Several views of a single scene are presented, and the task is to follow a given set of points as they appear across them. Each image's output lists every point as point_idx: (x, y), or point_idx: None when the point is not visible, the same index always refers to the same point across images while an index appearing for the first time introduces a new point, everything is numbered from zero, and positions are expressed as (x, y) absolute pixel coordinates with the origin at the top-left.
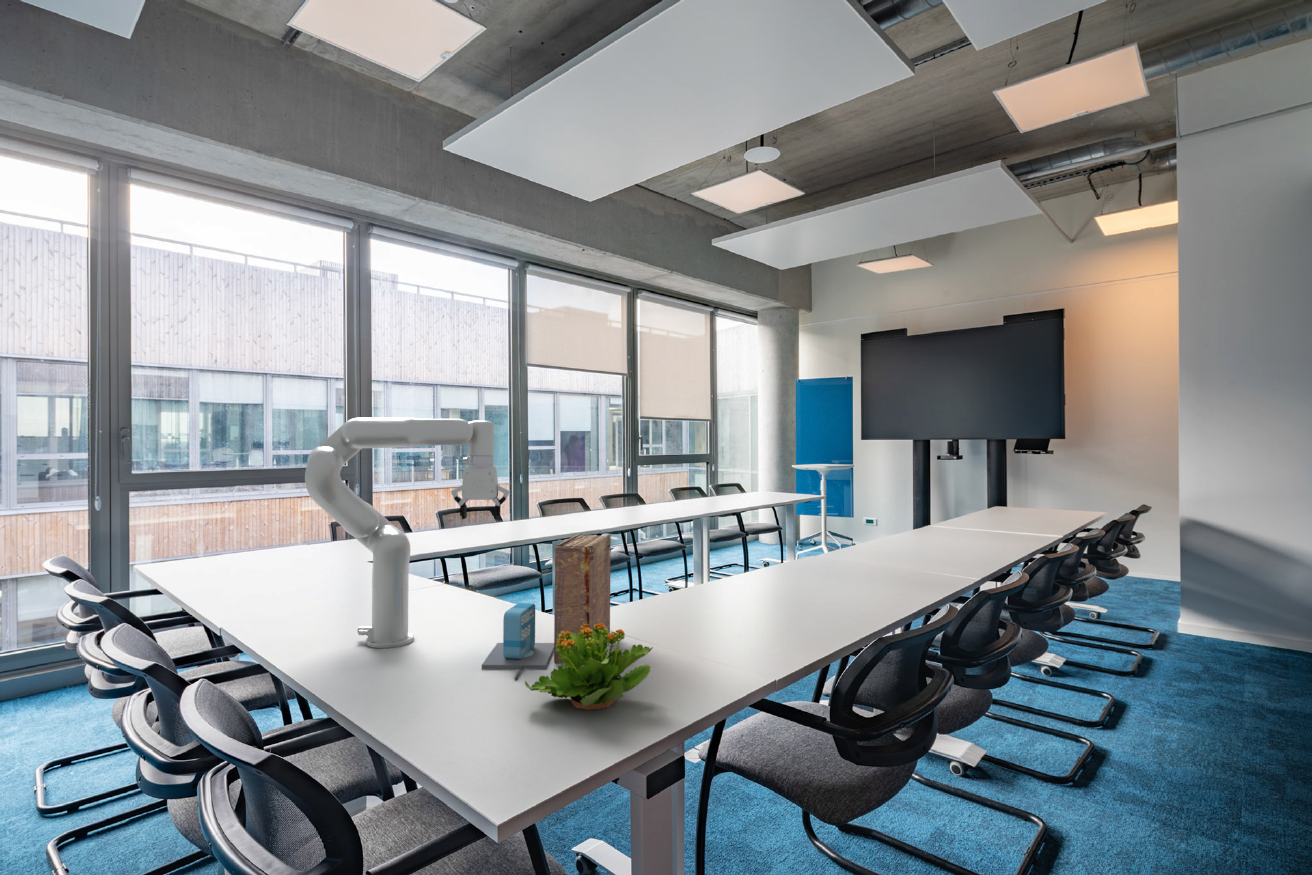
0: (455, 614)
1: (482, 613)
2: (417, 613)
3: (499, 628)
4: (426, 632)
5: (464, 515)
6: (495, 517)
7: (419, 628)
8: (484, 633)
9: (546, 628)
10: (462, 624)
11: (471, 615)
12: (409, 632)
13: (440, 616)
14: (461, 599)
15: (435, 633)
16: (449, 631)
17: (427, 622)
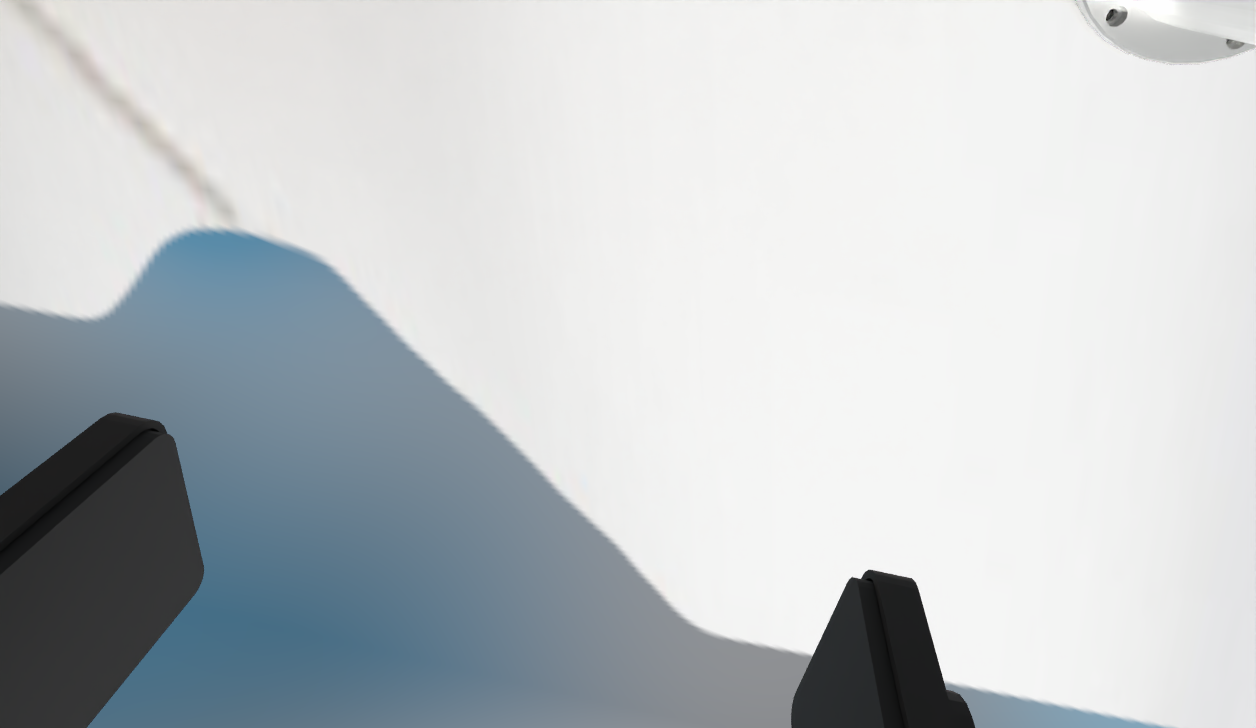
0: (804, 401)
1: (674, 392)
2: (990, 453)
3: (566, 101)
4: (973, 90)
5: (853, 651)
6: (106, 428)
7: (1005, 182)
8: (641, 8)
9: (315, 55)
10: (768, 218)
11: (726, 370)
12: (1093, 15)
13: (879, 382)
14: (777, 614)
15: (922, 58)
16: (840, 88)
17: (952, 290)
